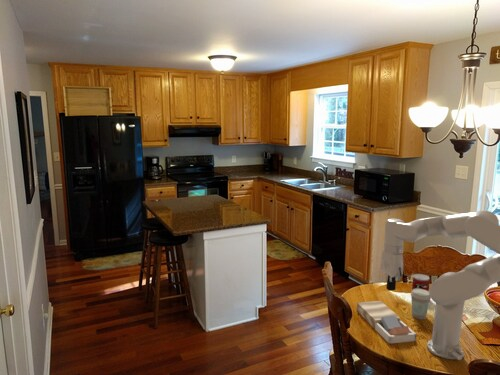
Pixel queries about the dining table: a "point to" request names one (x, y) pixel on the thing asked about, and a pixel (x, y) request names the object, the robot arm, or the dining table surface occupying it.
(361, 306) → the birch plate
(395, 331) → the tile terracotta
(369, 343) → the dining table surface
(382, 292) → the dining table surface
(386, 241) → the robot arm
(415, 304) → the coffee cup
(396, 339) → the box
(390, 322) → the tile slate
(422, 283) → the canned food
